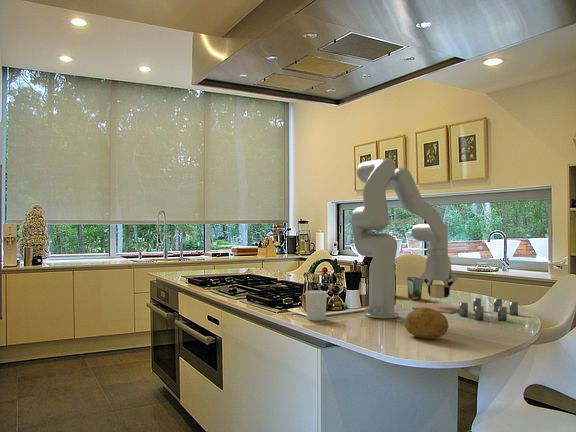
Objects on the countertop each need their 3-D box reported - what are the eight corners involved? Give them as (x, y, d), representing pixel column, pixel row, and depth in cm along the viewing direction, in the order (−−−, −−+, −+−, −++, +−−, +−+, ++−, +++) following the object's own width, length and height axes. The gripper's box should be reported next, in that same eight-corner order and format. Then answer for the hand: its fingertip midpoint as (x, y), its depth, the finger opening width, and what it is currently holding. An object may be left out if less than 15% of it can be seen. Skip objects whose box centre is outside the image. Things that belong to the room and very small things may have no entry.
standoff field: (502, 323, 169) (502, 309, 169) (454, 317, 179) (454, 304, 179) (521, 313, 189) (521, 300, 190) (477, 308, 200) (477, 296, 200)
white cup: (329, 318, 176) (329, 291, 176) (322, 322, 169) (322, 293, 169) (310, 316, 179) (310, 289, 179) (301, 320, 172) (302, 292, 172)
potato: (415, 303, 154) (400, 304, 147) (455, 311, 144) (441, 311, 138) (412, 333, 153) (397, 334, 146) (452, 342, 144) (438, 344, 137)
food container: (426, 301, 219) (426, 279, 219) (413, 301, 219) (413, 279, 219) (419, 297, 231) (420, 276, 232) (407, 297, 231) (407, 276, 232)
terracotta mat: (450, 313, 188) (450, 312, 188) (412, 308, 198) (412, 307, 198) (464, 308, 200) (464, 307, 200) (427, 304, 210) (427, 302, 210)
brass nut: (442, 298, 195) (442, 286, 195) (428, 297, 199) (428, 285, 199) (448, 296, 200) (448, 284, 200) (435, 295, 204) (435, 283, 204)
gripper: (415, 252, 202) (415, 295, 202) (455, 254, 191) (456, 299, 191) (422, 251, 208) (422, 293, 208) (462, 253, 197) (462, 296, 197)
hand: (438, 295), depth 199 cm, fingers closed on brass nut, 6 cm apart
